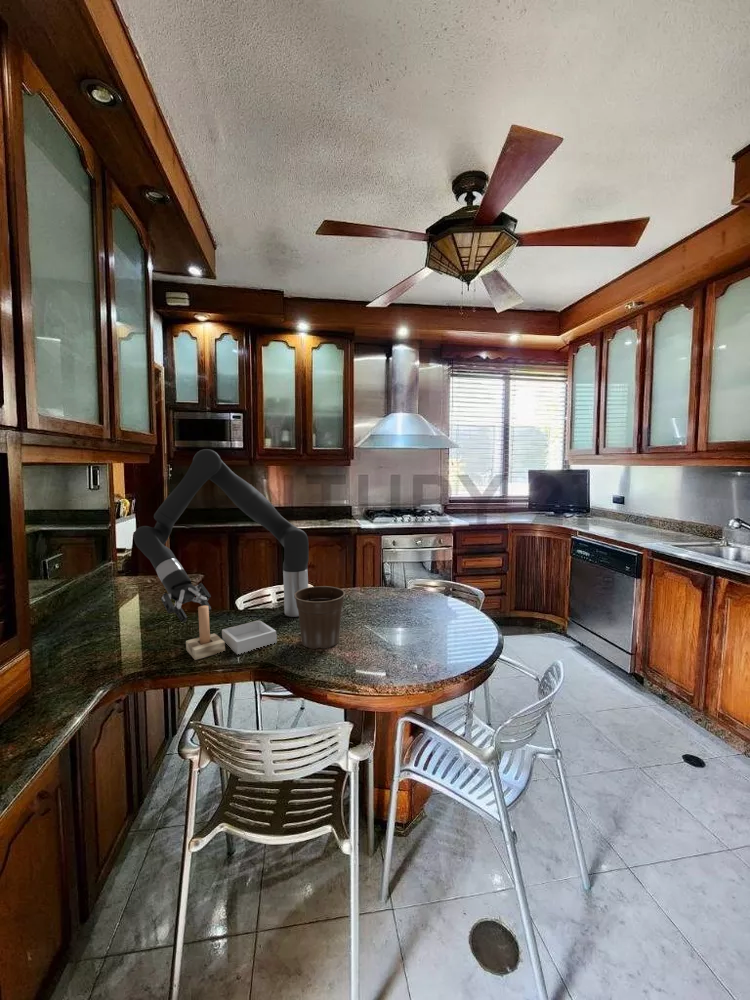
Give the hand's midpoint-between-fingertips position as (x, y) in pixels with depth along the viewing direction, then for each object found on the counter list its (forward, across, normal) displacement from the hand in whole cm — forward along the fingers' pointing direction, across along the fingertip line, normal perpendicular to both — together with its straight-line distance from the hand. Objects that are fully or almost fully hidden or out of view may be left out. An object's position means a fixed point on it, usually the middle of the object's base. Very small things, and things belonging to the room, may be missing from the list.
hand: (197, 616), depth 135 cm
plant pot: (+29, +23, -14) cm, 40 cm away
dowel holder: (+10, 0, +5) cm, 11 cm away
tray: (+15, +11, 0) cm, 18 cm away
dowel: (+10, 0, +5) cm, 11 cm away
